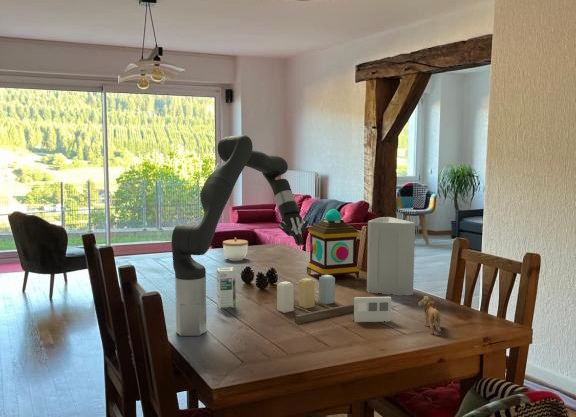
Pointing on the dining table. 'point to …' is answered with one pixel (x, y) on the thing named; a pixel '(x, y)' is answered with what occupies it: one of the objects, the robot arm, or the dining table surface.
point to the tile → (372, 309)
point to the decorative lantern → (333, 246)
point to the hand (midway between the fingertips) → (300, 244)
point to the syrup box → (226, 288)
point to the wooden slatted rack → (322, 312)
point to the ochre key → (306, 293)
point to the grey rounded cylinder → (327, 289)
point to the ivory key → (285, 296)
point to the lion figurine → (430, 313)
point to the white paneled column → (390, 256)
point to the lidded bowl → (235, 249)
